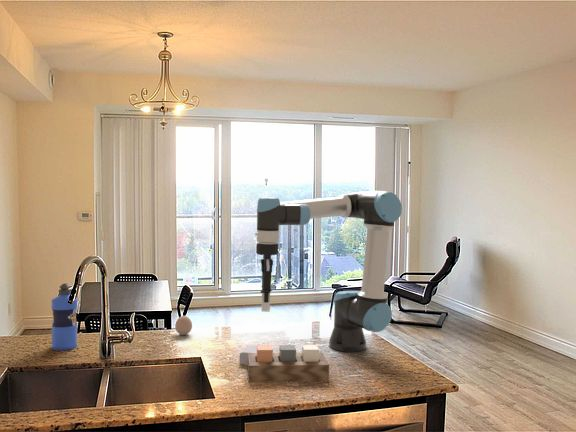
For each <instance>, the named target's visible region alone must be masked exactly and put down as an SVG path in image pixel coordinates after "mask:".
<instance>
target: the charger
mask: <svg viewBox="0 0 576 432" xmlns="http://www.w3.org/2000/svg"><path fill="white" fill-rule="evenodd" d="M248 353H257V345H248V344H247V345H246V346H245V347H244V348H243V349H242V351H240V353H239V365H242V364H244V365H245V366H248Z"/></svg>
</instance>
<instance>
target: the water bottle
mask: <svg viewBox="0 0 576 432" xmlns="http://www.w3.org/2000/svg"><path fill="white" fill-rule="evenodd" d="M59 288H60V289H58V295H57V296H55V297H54V298H52V299H51V311H52V317H53V319H52V325H51V349H52V351H53V350H54V351H59V352H60V351H70V350H73V349H75V348H77V347H78V346H77V345H78V322H77V310H78V305H79V303H78V302H79V301H78V297H76V299H75V300H74V301H73V303H72V304H70V303H68V301H69V296H70V295H71V292H72V291H71V286H70V285H69V284H68V283H62V284H61V285H60V286H59Z"/></svg>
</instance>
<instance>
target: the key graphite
mask: <svg viewBox="0 0 576 432" xmlns="http://www.w3.org/2000/svg"><path fill="white" fill-rule="evenodd" d="M278 353H279V362H296V353H297V348H296V346H295V345H294V344H292V345H291V344H288V345H286V344H285V345H284V344H283V345H281V344H280V345H279V350H278Z"/></svg>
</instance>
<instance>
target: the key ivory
mask: <svg viewBox="0 0 576 432" xmlns="http://www.w3.org/2000/svg"><path fill="white" fill-rule="evenodd" d="M301 353H302V361H303V362H319V353H320V349H319V347H318V345H317V344H302V345H301Z"/></svg>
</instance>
